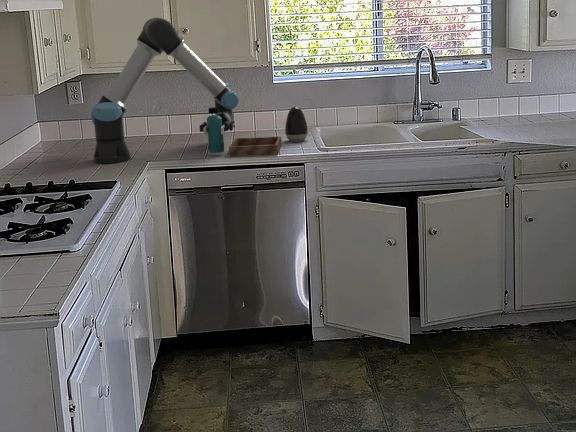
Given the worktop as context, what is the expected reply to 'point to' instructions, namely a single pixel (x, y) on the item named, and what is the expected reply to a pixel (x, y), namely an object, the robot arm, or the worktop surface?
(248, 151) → the walnut tray
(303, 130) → the egg on grey base
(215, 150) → the beverage bottle
